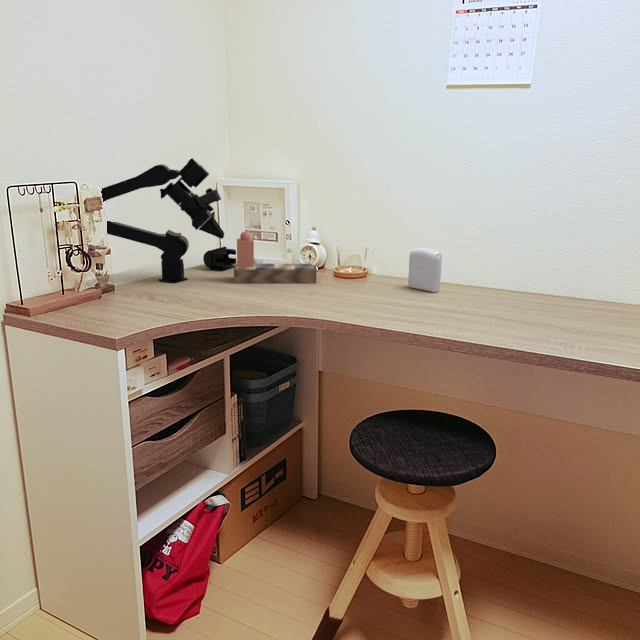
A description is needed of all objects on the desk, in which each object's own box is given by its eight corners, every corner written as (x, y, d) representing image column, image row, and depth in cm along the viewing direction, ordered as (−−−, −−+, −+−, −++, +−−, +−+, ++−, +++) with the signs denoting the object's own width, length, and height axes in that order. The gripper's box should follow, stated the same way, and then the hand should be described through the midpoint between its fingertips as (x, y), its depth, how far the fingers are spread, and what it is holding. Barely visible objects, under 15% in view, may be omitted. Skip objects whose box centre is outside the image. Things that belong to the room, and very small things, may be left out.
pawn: (237, 267, 197) (236, 232, 194) (237, 264, 202) (236, 230, 199) (253, 267, 198) (253, 232, 195) (253, 264, 202) (253, 230, 200)
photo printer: (405, 287, 197) (408, 246, 194) (414, 285, 200) (416, 245, 196) (433, 293, 190) (436, 251, 186) (441, 291, 193) (445, 249, 189)
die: (255, 273, 211) (255, 261, 210) (245, 272, 213) (245, 260, 212) (262, 271, 215) (262, 259, 213) (252, 270, 216) (252, 258, 215)
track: (234, 283, 196) (233, 268, 195) (234, 277, 205) (234, 263, 204) (316, 283, 199) (316, 268, 198) (312, 277, 208) (313, 263, 207)
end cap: (218, 265, 225) (218, 245, 223) (236, 267, 222) (236, 247, 220) (203, 270, 216) (202, 249, 214) (221, 272, 213) (221, 251, 211)
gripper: (202, 181, 182) (242, 221, 187) (205, 177, 200) (242, 214, 205) (175, 209, 184) (215, 248, 188) (180, 203, 201) (217, 238, 206)
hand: (223, 236), depth 197 cm, fingers open, 5 cm apart
